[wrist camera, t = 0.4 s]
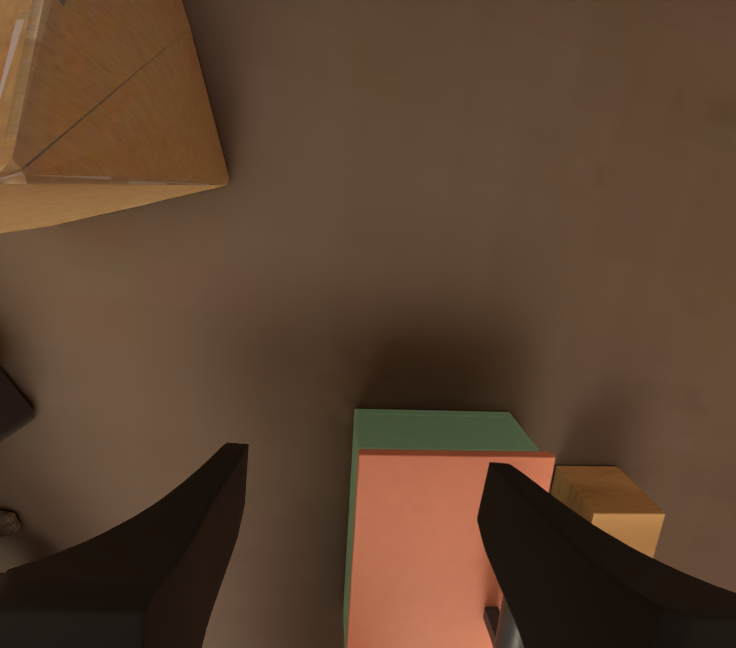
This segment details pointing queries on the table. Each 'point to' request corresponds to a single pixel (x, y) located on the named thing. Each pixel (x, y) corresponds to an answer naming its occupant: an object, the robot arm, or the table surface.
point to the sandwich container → (100, 110)
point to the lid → (428, 550)
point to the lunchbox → (426, 446)
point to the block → (610, 504)
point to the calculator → (12, 408)
